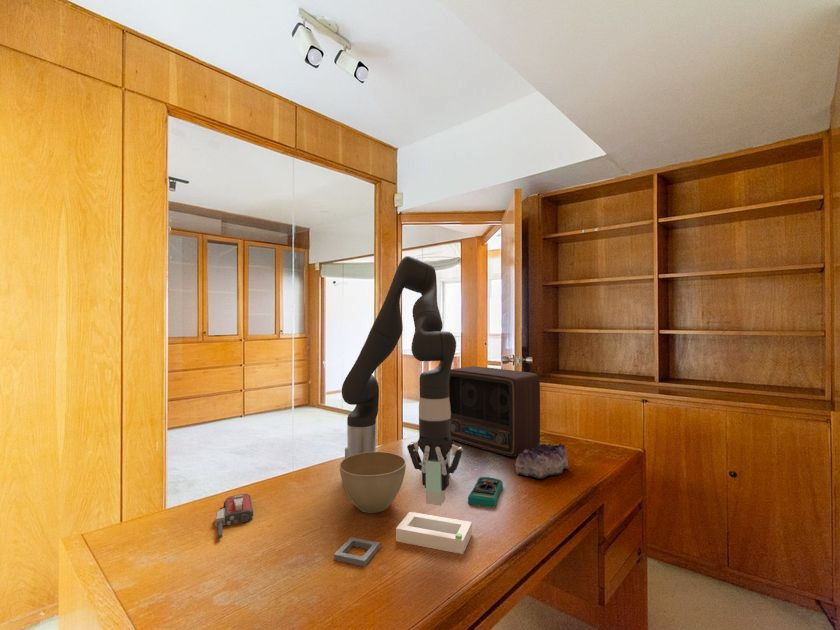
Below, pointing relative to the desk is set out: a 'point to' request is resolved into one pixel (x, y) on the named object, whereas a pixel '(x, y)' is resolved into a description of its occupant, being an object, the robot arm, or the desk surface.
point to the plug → (434, 483)
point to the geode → (542, 461)
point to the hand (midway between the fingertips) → (435, 487)
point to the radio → (495, 409)
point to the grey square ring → (353, 559)
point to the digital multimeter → (485, 492)
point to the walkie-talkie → (234, 511)
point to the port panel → (434, 532)
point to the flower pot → (372, 479)
